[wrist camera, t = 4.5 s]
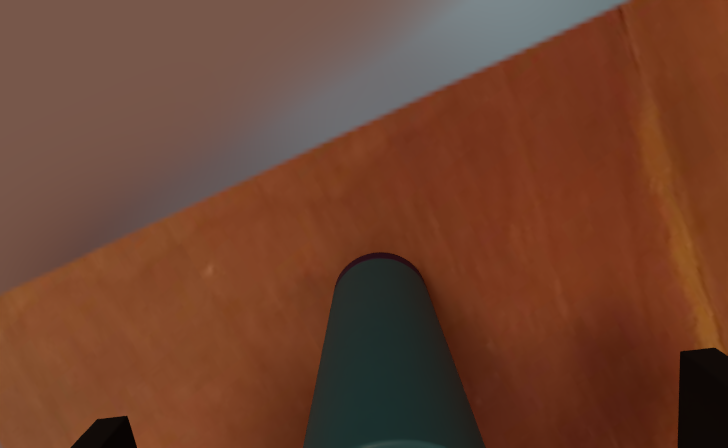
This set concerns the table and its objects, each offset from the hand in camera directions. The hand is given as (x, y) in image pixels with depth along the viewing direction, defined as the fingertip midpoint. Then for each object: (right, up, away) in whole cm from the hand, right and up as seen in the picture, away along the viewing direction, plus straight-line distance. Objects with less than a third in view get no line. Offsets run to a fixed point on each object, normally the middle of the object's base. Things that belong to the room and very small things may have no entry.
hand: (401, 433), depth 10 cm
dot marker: (0, +2, +8) cm, 8 cm away
